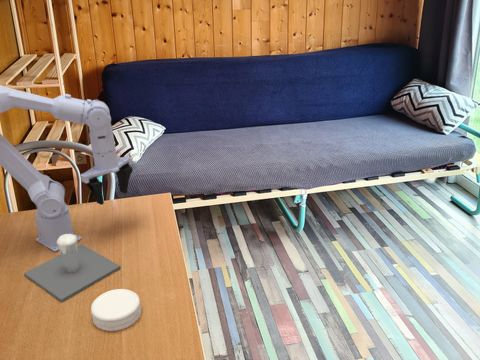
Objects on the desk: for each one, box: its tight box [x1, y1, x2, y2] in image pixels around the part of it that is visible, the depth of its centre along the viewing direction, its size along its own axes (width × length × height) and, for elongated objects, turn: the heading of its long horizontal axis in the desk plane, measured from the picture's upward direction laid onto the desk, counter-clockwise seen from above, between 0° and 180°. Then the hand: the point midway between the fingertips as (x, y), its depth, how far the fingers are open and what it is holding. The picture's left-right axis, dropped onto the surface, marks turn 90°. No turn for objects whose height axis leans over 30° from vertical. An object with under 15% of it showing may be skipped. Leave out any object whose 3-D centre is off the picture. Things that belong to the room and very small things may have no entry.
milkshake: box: [57, 232, 80, 273], centre depth 118 cm, size 4×5×10 cm
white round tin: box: [90, 288, 142, 332], centre depth 106 cm, size 10×10×4 cm
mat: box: [23, 243, 122, 303], centre depth 121 cm, size 16×16×1 cm
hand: (112, 197), depth 133 cm, fingers open, 7 cm apart
